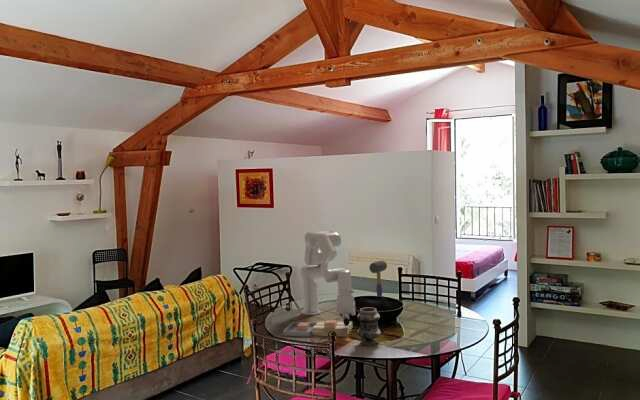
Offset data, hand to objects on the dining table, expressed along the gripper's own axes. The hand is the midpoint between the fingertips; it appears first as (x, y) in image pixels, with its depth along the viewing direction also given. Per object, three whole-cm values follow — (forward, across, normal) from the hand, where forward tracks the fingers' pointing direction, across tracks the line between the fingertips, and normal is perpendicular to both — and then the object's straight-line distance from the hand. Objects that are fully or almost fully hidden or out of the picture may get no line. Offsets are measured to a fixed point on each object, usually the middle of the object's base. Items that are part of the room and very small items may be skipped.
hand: (346, 325), depth 281 cm
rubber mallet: (+5, -9, -66) cm, 66 cm away
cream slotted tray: (+5, +9, -4) cm, 11 cm away
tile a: (+2, +27, -6) cm, 28 cm away
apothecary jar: (+5, -15, +14) cm, 21 cm away
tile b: (+1, +9, 0) cm, 9 cm away
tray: (+5, +28, -4) cm, 28 cm away
